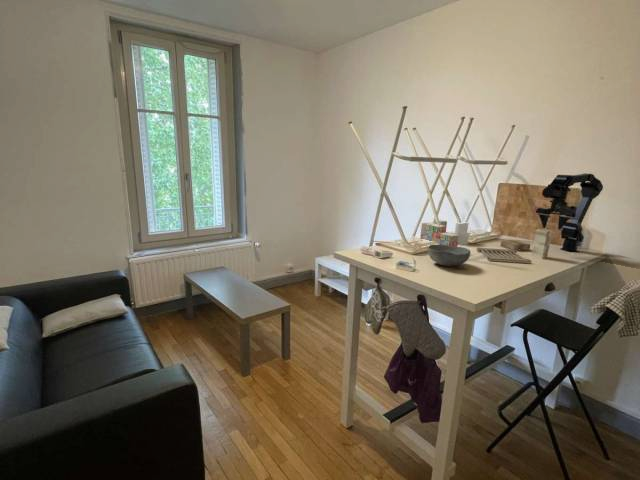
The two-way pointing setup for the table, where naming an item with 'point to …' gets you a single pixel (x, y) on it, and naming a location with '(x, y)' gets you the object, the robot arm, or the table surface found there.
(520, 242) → the walnut block
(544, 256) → the birch block
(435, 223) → the skincare box
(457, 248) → the bowl
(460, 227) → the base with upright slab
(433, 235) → the stack of blocks
